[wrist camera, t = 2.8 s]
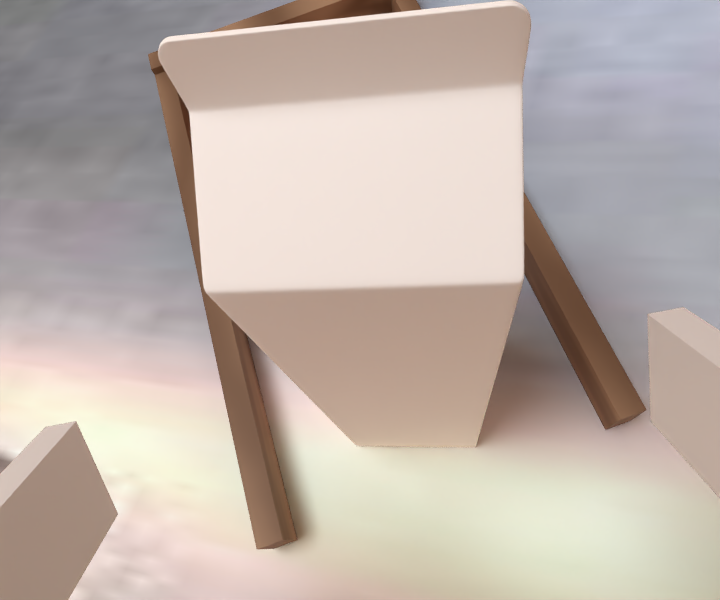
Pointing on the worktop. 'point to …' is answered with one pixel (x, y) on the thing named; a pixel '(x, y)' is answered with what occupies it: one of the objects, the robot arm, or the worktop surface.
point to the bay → (230, 341)
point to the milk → (366, 206)
